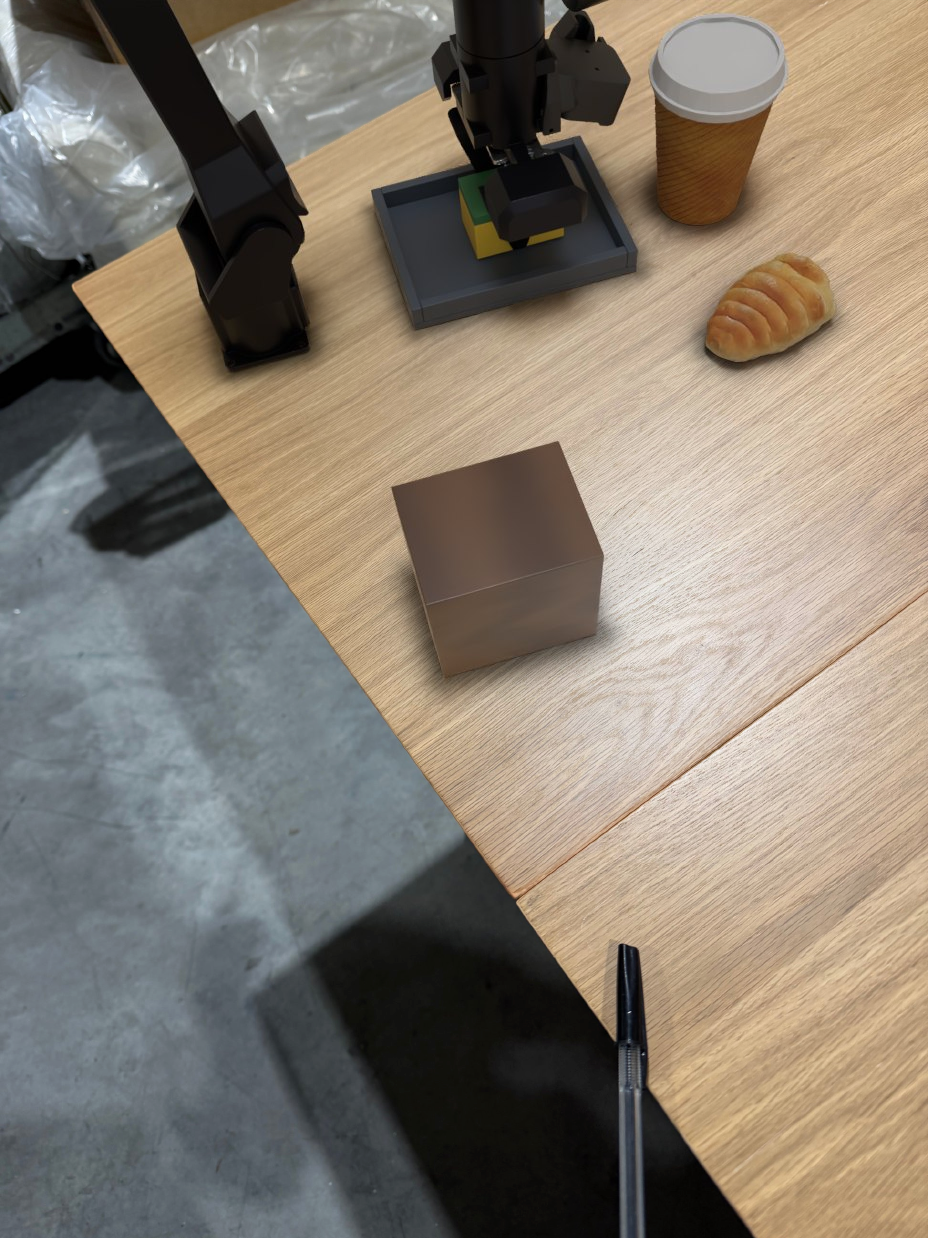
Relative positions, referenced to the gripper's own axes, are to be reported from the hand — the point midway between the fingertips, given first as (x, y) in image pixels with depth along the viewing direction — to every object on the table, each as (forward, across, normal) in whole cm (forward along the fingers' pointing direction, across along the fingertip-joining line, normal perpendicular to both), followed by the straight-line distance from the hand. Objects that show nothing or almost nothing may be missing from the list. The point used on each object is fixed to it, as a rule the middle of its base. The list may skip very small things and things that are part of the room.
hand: (510, 226), depth 75 cm
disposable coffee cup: (+1, -1, -15) cm, 15 cm away
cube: (+1, -31, +10) cm, 33 cm away
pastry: (+1, -15, -15) cm, 21 cm away
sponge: (0, 0, 0) cm, 0 cm away
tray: (+1, 0, +1) cm, 1 cm away
